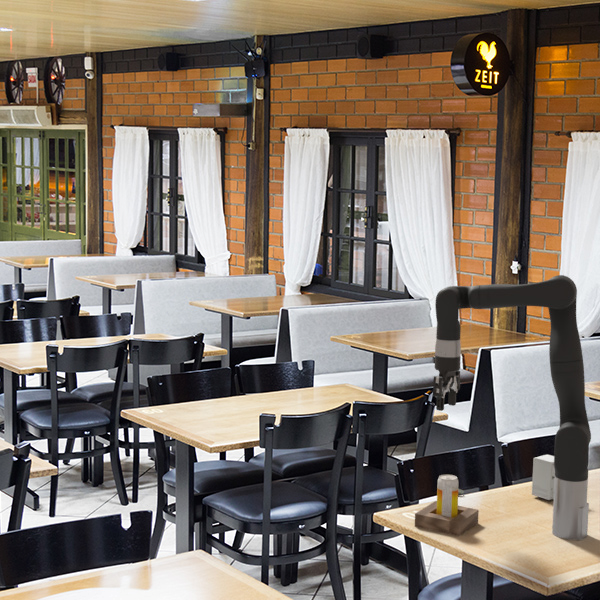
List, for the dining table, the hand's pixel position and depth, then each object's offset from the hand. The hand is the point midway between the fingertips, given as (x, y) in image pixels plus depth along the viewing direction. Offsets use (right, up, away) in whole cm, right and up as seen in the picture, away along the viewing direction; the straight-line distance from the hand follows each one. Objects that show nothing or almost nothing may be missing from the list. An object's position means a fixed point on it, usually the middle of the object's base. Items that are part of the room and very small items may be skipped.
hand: (446, 407), depth 289 cm
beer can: (0, -35, -3) cm, 35 cm away
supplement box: (+37, -32, +27) cm, 56 cm away
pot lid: (+7, -31, +31) cm, 45 cm away
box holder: (0, -35, -3) cm, 35 cm away
